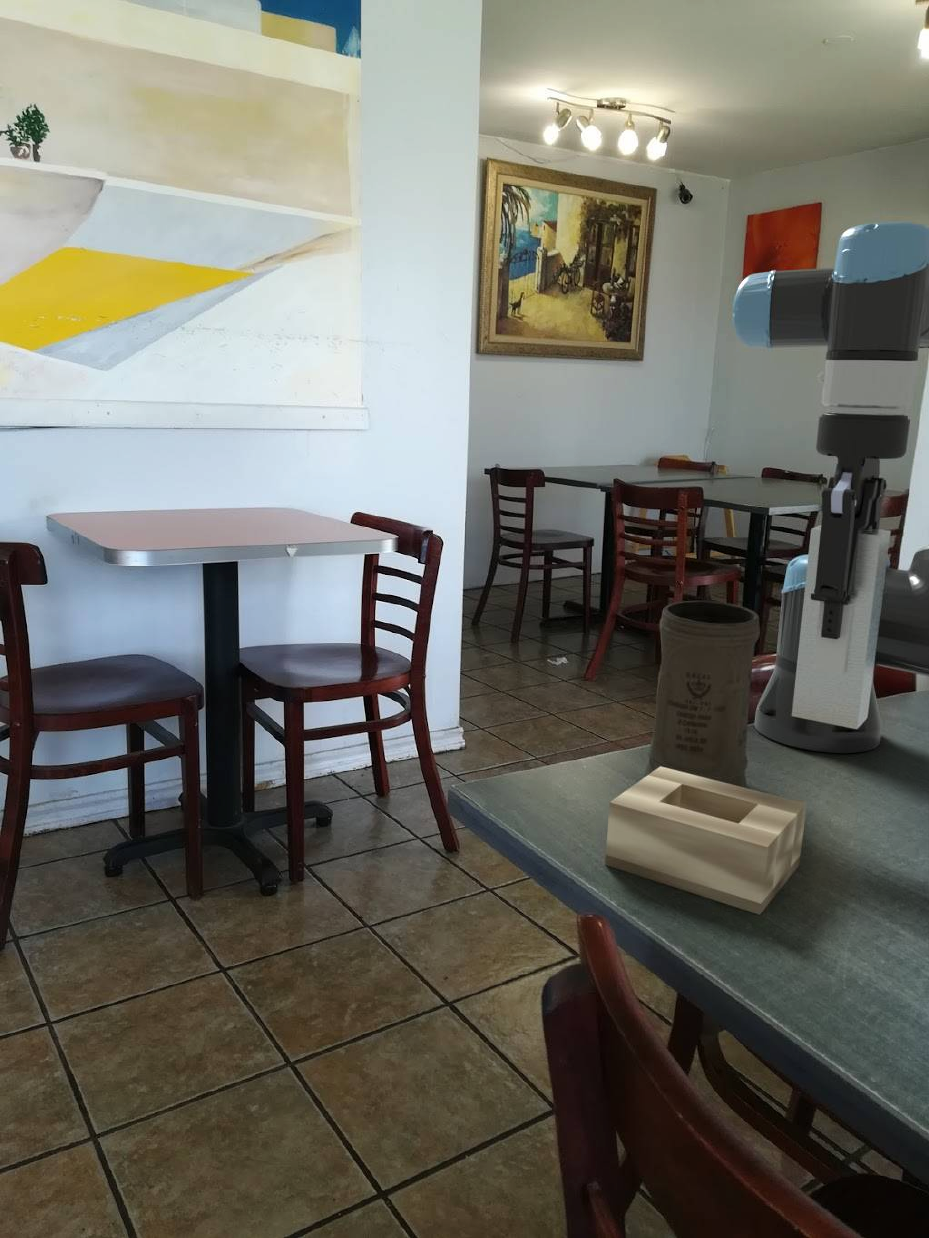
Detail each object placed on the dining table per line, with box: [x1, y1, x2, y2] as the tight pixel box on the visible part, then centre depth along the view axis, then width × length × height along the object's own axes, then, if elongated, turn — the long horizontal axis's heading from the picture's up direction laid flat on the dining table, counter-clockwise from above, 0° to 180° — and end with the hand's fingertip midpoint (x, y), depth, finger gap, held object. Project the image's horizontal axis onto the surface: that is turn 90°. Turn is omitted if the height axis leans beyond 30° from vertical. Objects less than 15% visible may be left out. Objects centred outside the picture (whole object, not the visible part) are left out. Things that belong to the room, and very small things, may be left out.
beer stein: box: [643, 600, 761, 789], centre depth 105 cm, size 15×11×20 cm
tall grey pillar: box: [792, 524, 892, 729], centre depth 92 cm, size 4×6×18 cm, turn 55°
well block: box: [604, 766, 807, 916], centre depth 88 cm, size 11×14×6 cm
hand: (835, 664), depth 93 cm, fingers closed on tall grey pillar, 4 cm apart
